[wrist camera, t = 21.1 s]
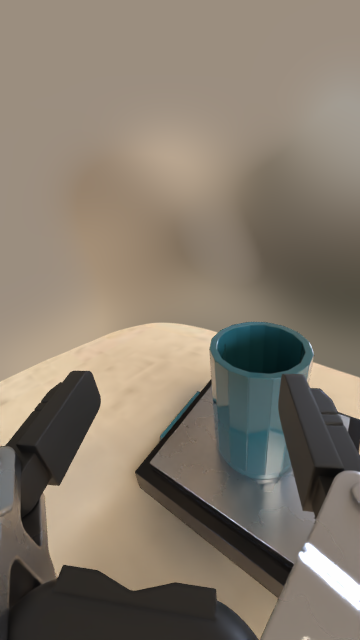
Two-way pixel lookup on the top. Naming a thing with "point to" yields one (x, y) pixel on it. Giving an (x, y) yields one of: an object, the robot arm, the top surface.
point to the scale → (229, 496)
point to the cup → (254, 393)
